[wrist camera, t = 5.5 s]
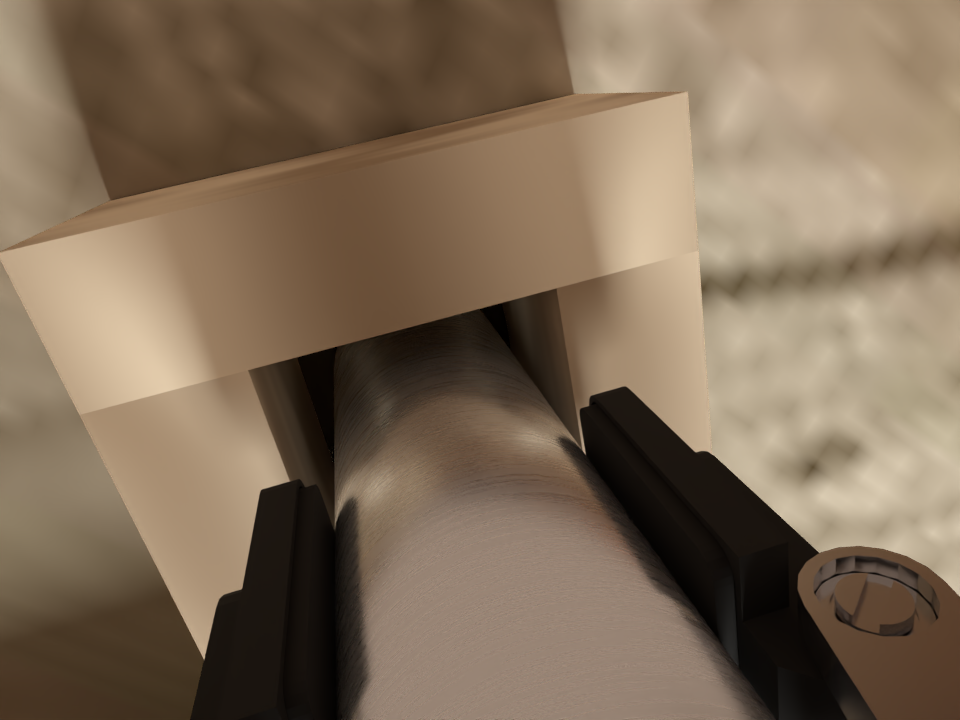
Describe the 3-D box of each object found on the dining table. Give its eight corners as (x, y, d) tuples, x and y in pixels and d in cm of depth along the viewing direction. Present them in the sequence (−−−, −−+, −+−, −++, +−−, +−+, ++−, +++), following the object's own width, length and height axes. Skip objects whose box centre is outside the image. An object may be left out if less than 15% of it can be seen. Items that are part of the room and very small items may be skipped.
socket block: (574, 94, 15) (687, 91, 10) (624, 470, 19) (721, 591, 14) (109, 200, 13) (-4, 252, 9) (269, 578, 17) (249, 749, 13)
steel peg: (483, 268, 15) (885, 703, 4) (515, 418, 17) (862, 1018, 6) (311, 312, 15) (252, 931, 4) (360, 462, 16) (420, 1207, 5)
